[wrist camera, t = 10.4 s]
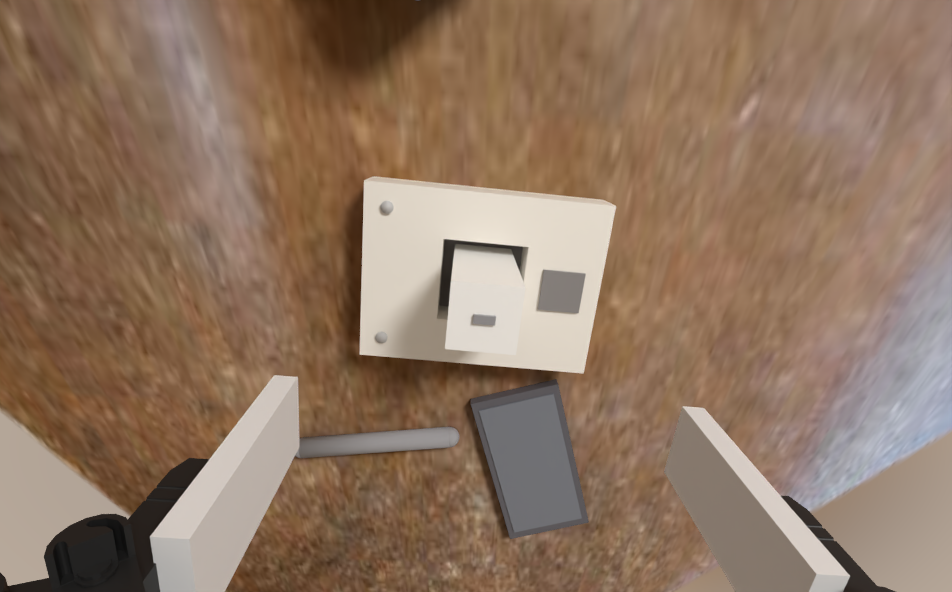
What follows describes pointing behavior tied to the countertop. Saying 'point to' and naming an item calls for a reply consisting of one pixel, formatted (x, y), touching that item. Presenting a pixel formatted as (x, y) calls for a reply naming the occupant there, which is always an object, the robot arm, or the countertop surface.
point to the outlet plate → (490, 225)
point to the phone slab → (530, 458)
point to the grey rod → (377, 442)
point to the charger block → (484, 300)
